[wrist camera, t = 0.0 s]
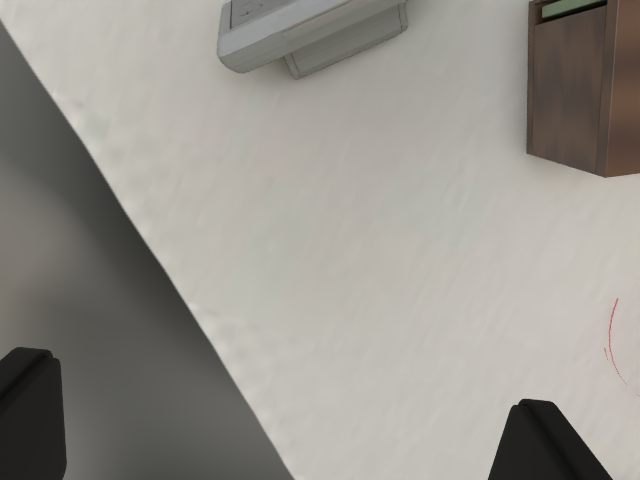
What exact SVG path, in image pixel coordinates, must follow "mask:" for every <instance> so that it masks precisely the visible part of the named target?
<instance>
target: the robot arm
mask: <svg viewBox="0 0 640 480" xmlns="http://www.w3.org/2000/svg"><path fill="white" fill-rule="evenodd" d="M66 464H67V460H66V444H65V429H64V413H63V396H62V381H61V365H60V361H59V359H56V358H53V355H52V353H51V351H49V350H44V349H35V348H24V347H17V348H15V349H14V350H12V351H11V352H10V353H8V355H6V356H5V357H4V358H3V359H1V361H0V480H62V479H63V477H64V474H65V470H66ZM488 480H613V479H612V478H611V477H610V475H609V474H608V473H607V471H606V470H605V469H604V467H603V466H602V465H601V463H600V462H599V461H598V460H597V458H596V457H595V456H594V454H593V453H592V452H591V450H590V449H589V448H588V446H587V445H586V444H585V443H584V441H583V440H582V439H581V437H580V436H579V435H578V433H577V432H576V431H575V429H574V428H573V427H572V426H571V424H570V423H569V422H568V420H567V419H566V418H565V416H564V415H563V414H562V412H561V411H560V410H559V409H558V407H557V406H556V405H555V404H554V403H553V402H550V401H543V400H533V399H522V400H521V401H520V402H519V404H518V405H513V406H512V407H511V410H510V412H509V415H508V418H507V422H506V425H505V428H504V431H503V434H502V437H501V440H500V443H499V446H498V450H497V453H496V456H495V459H494V462H493V465H492V468H491V471H490V474H489V478H488Z"/></svg>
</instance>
